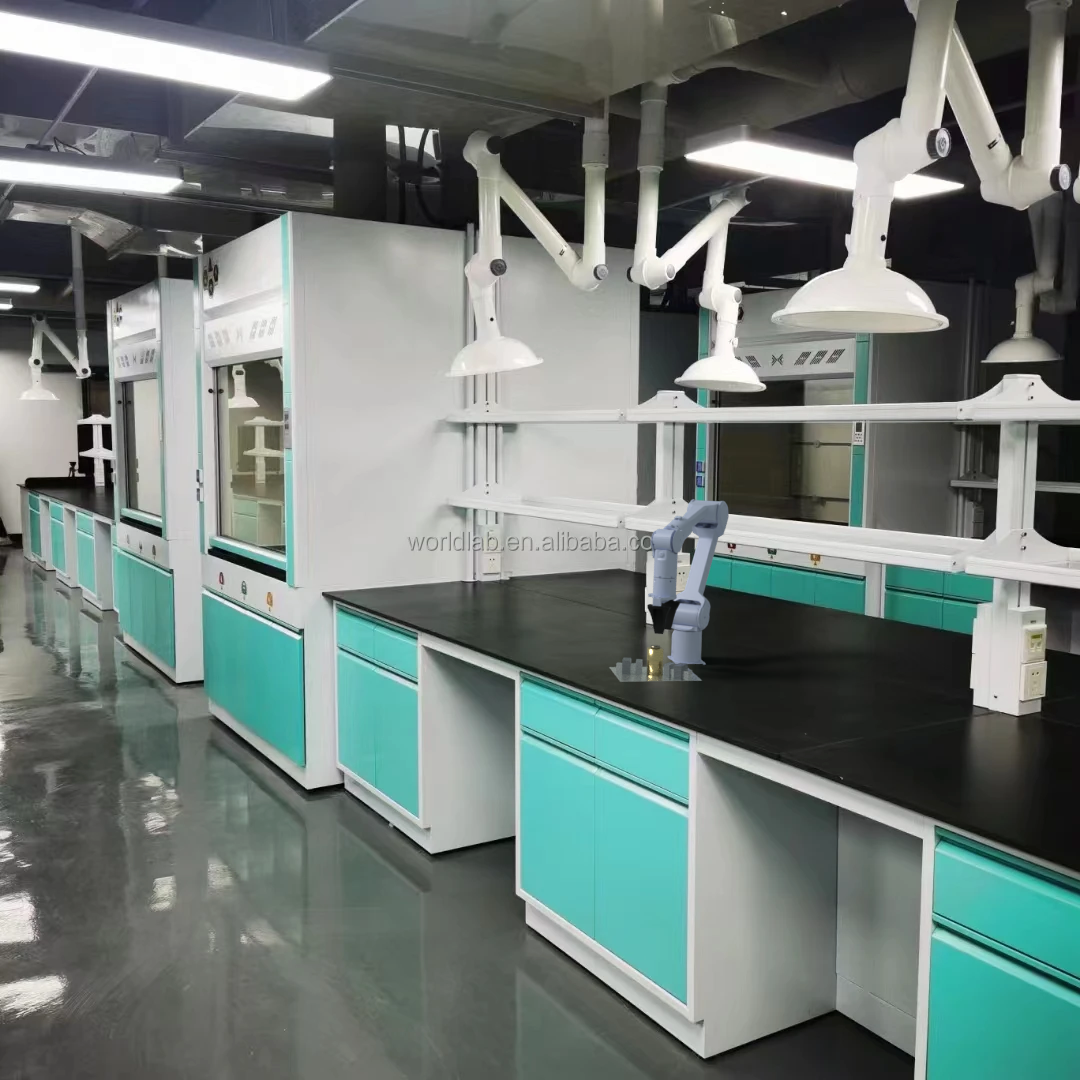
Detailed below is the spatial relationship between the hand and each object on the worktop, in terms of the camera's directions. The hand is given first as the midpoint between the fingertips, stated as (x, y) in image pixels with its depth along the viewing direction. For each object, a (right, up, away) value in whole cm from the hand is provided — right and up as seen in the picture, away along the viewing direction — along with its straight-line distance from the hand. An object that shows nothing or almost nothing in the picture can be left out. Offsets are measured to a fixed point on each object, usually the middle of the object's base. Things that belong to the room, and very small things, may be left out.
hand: (662, 631), depth 255 cm
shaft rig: (-2, -11, -3) cm, 11 cm away
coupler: (-2, -10, -3) cm, 11 cm away
